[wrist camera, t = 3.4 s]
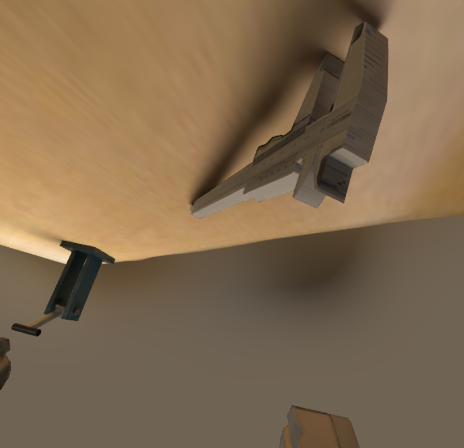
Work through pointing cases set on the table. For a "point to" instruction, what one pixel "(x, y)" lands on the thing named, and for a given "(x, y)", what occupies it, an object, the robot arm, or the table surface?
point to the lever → (41, 320)
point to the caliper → (318, 133)
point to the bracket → (71, 275)
